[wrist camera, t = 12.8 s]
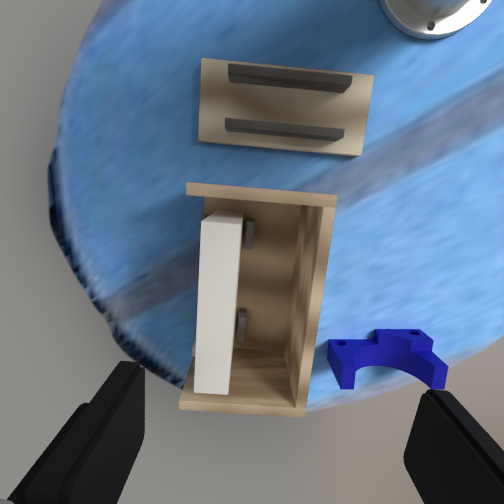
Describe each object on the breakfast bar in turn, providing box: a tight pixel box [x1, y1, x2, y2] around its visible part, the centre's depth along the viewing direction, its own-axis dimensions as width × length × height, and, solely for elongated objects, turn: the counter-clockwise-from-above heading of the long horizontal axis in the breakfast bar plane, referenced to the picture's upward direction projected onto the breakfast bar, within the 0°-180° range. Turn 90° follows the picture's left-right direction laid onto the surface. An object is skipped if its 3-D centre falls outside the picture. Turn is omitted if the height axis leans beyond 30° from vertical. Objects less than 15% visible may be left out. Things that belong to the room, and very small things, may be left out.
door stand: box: [198, 58, 374, 157], centre depth 29 cm, size 8×18×4 cm, turn 85°
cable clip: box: [327, 329, 448, 389], centre depth 35 cm, size 12×4×6 cm, turn 90°
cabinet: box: [179, 182, 338, 417], centre depth 30 cm, size 21×12×11 cm, turn 175°
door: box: [192, 210, 244, 395], centre depth 28 cm, size 15×4×11 cm, turn 175°
